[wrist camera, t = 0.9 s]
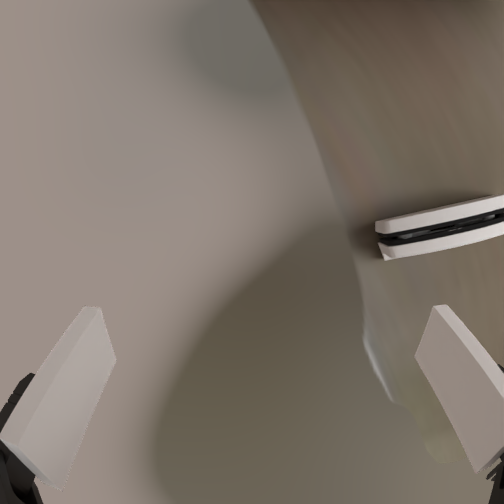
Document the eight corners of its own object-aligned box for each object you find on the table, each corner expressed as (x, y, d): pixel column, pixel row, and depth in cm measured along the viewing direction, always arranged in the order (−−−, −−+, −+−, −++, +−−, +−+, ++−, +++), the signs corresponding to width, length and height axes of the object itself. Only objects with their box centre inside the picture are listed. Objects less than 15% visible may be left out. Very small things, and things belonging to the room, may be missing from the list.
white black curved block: (380, 259, 35) (384, 275, 26) (373, 221, 35) (373, 224, 26) (498, 232, 29) (533, 239, 19) (491, 195, 28) (525, 190, 19)
